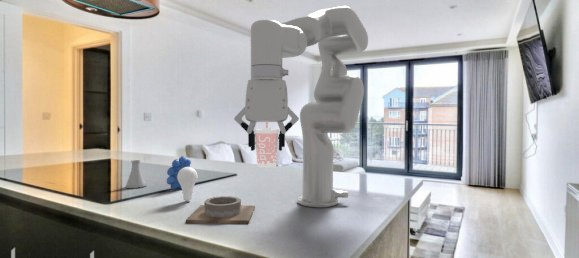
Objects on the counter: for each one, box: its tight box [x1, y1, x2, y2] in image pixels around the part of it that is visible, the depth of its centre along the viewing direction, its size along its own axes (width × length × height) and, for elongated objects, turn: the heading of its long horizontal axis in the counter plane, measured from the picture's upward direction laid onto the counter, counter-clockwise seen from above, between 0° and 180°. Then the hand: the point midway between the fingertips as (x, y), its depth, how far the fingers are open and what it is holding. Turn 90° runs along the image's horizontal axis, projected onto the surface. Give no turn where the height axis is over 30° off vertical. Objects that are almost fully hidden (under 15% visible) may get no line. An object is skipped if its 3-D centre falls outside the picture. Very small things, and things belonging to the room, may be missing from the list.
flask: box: [125, 159, 147, 189], centre depth 128 cm, size 7×7×10 cm
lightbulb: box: [177, 166, 198, 202], centre depth 107 cm, size 6×6×11 cm
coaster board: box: [185, 195, 256, 224], centre depth 93 cm, size 16×14×4 cm
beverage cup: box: [254, 122, 280, 169], centre depth 81 cm, size 6×6×14 cm
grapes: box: [166, 156, 193, 191], centre depth 125 cm, size 12×7×12 cm, turn 151°
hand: (266, 149), depth 82 cm, fingers closed on beverage cup, 6 cm apart
